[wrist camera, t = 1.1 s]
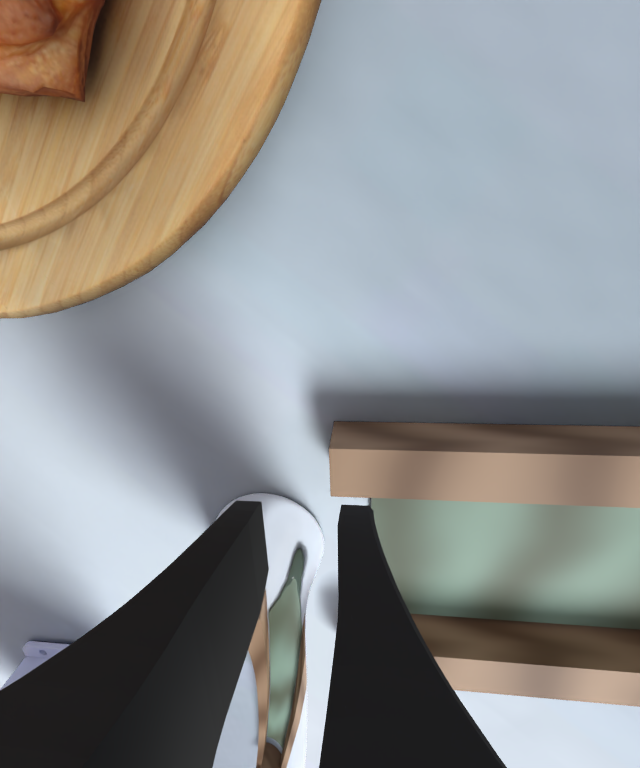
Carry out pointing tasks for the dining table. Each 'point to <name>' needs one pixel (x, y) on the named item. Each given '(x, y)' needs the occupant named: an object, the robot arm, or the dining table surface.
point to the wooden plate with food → (128, 132)
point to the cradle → (509, 548)
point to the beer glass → (276, 647)
